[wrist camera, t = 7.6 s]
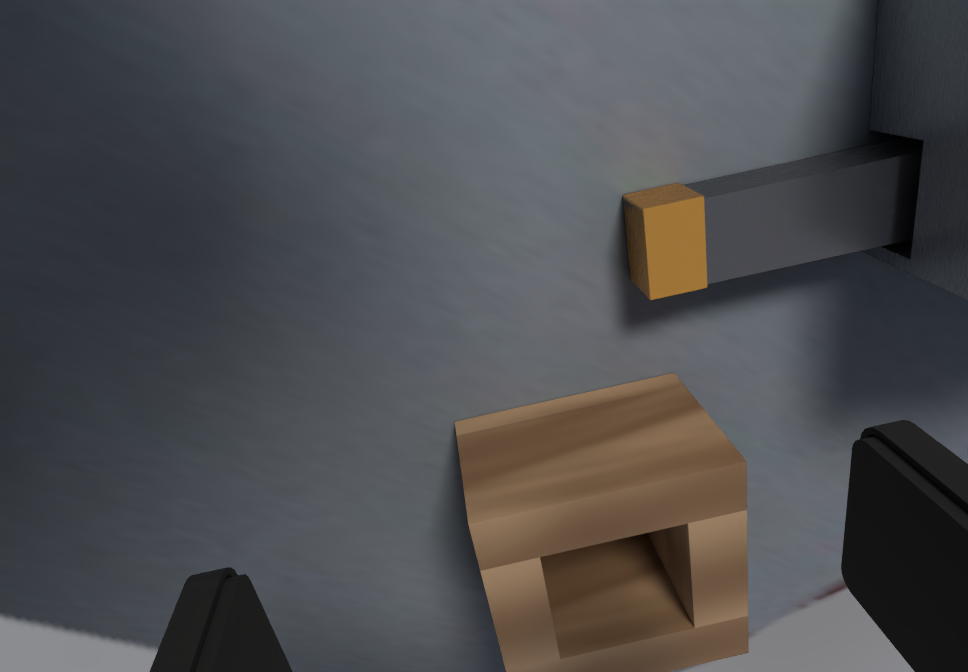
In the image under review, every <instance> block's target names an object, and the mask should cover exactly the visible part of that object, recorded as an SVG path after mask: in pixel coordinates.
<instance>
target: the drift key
mask: <svg viewBox="0 0 968 672" xmlns="http://www.w3.org/2000/svg"><path fill="white" fill-rule="evenodd" d="M923 142H924V140H919V139H914V138H909V137H904V138H899V139H895V140H890V141H885V142H881V143H876V144H871V145H867V146H862V147H858V148H853V149H848V150H844V151H839V152H834V153H830V154H825V155H820V156H816V157H811V158H806V159H802V160H797V161H793V162H788V163H783V164H779V165H774V166H769V167H765V168H760V169H755V170H751V171H746V172H742V173H737V174H732V175H728V176H723V177H718V178H714V179H709V180H704V181H700V182H695V183H691V184H686V185H682V184H680V183H675V184H671V185H666V186H661V187H657V188H652V189H648V190H643V191H638V192H634V193H629V194H624V195H623V200H624V211H625V222H626V233H627V244H628V254H629V265H630V276H631V280H632V281H633V282H634V283H635V284H636V285H637V286H638V288H639V289H640V290H641V291H642V292H643V293H644V294H645V295H646V296H647V297H648V298H649V299H650V300H654V299H658V298H663V297H667V296H672V295H676V294H681V293H686V292H690V291H695V290H699V289H704V288H707V284H711V283H716V282H720V281H725V280H729V279H734V278H739V277H743V276H748V275H752V274H757V273H761V272H766V271H770V270H775V269H780V268H784V267H789V266H793V265H798V264H802V263H807V262H811V261H816V260H821V259H825V258H830V257H834V256H839V255H843V254H848V253H853V252H857V251H862V250H866V249H871V248H875V247H880V246H884V245H889V244H894V243H898V242H903V241H907V240H912V239H913V234H914V224H915V215H916V206H917V197H918V188H919V178H920V169H921V160H922V151H923Z"/></svg>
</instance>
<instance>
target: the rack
mask: <svg viewBox="0 0 968 672" xmlns="http://www.w3.org/2000/svg"><path fill="white" fill-rule="evenodd" d="M455 428H456V436H457V443H458V451H459V458H460V466H461V473H462V481H463V488H464V496H465V503H466V511H467V518H468V525H469V529H470V533H471V537H472V541H473V545H474V548H475V552H476V556H477V560H478V564H479V568H480V572H481V576H482V580H483V584H484V587H485V591H486V595H487V599H488V603H489V607H490V611H491V615H492V619H493V623H494V626H495V630H496V634H497V638H498V642H499V646H500V650H501V654H502V658H503V662H504V665H505V669H506V672H668V671H672V670H677V669H681V668H685V667H689V666H694V665H698V664H702V663H707V662H711V661H715V660H719V659H723V658H728V657H732V656H737V655H741V654H745V653H748V564H747V466H746V460H745V459H744V458H743V457H742V455H741V454H740V453H739V452H738V450H737V449H736V448H735V447H734V446H733V444H732V443H731V442H730V441H729V439H728V438H727V437H726V436H725V434H724V433H723V432H722V431H721V430H720V428H719V427H718V426H717V425H716V423H715V422H714V421H713V420H712V418H711V417H710V416H709V415H708V414H707V412H706V411H705V410H704V409H703V407H702V406H701V405H700V404H699V403H698V401H697V400H696V399H695V398H694V396H693V395H692V394H691V393H690V391H689V390H688V389H687V388H686V387H685V385H684V384H683V383H682V382H681V380H680V379H679V378H678V377H677V375H676V374H675V373H671V374H667V375H662V376H658V377H653V378H649V379H644V380H640V381H635V382H631V383H626V384H622V385H617V386H613V387H608V388H604V389H599V390H595V391H590V392H586V393H581V394H577V395H572V396H568V397H563V398H559V399H554V400H550V401H545V402H541V403H536V404H532V405H527V406H523V407H518V408H514V409H509V410H505V411H500V412H496V413H491V414H487V415H482V416H478V417H473V418H469V419H464V420H460V421H455Z"/></svg>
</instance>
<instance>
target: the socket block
mask: <svg viewBox="0 0 968 672" xmlns="http://www.w3.org/2000/svg"><path fill="white" fill-rule="evenodd" d="M869 130H873V131H878V132H883V133H888V134H893V135H898V136H904V137H909V138H914V139H919V140H924V142H923V151H922V160H921V169H920V178H919V188H918V197H917V206H916V215H915V224H914V234H913V239H912V240H907V241H903V242H898V243H894V244H889V245H884V246H880V247H875V248H871V249H866V250H862V252H864V253H866V254H868V255H870V256H873V257H875V258H877V259H879V260H881V261H883V262H886V263H888V264H890V265H892V266H894V267H896V268H899V269H901V270H903V271H905V272H907V273H909V274H912V275H914V276H916V277H918V278H920V279H922V280H925V281H927V282H929V283H931V284H933V285H935V286H938V287H940V288H942V289H944V290H946V291H948V292H951V293H953V294H955V295H957V296H959V297H961V298H964V299H966V300H968V0H879V3H878V17H877V31H876V45H875V59H874V72H873V86H872V100H871V114H870V128H869Z"/></svg>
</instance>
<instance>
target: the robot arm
mask: <svg viewBox="0 0 968 672" xmlns="http://www.w3.org/2000/svg"><path fill="white" fill-rule="evenodd" d="M841 570H842V575H843V578H844V581H845V583H846V585H847V587H848V589H849V590H850V592H851V593H852V595H853V596H854V597H855V598H856V599H857V601H858V602H859V603H860V604H861V606H862V607H863V608H864V609H865V611H866V612H867V613H868V614H869V616H870V617H871V618H872V619H873V621H874V622H875V623H876V624H877V625H878V627H879V628H880V629H881V630H882V631H883V633H884V634H885V635H886V637H887V638H888V639H889V640H890V642H891V643H892V644H893V645H894V647H895V648H896V649H897V650H898V651H899V653H900V654H901V655H902V656H903V658H904V659H905V660H906V661H907V663H908V664H909V665H910V666H911V668H912V669H913V670H914V671H915V672H968V464H967V463H966V462H964V461H963V460H962V459H960V458H959V457H958V456H956V455H955V454H954V453H952V452H951V451H950V450H948V449H947V448H946V447H944V446H943V445H942V444H940V443H939V442H938V441H936V440H935V439H934V438H932V437H931V436H930V435H928V434H927V433H926V432H924V431H923V430H922V429H920V428H919V427H918V426H917V425H915V424H913V423H912V422H910V421H906V420H901V421H896V422H892V423H887V424H882V425H878V426H873V427H869V428H866V429H864V431H863V432H862V434H861V438H860V440H857V441H855V442H854V444H853V448H852V457H851V468H850V478H849V489H848V500H847V511H846V521H845V532H844V543H843V554H842V564H841ZM150 672H292V670H291V668H290V665H289V663H288V661H287V659H286V657H285V654H284V652H283V650H282V648H281V646H280V644H279V641H278V639H277V637H276V635H275V633H274V631H273V628H272V626H271V624H270V622H269V620H268V617H267V615H266V613H265V611H264V609H263V607H262V604H261V602H260V600H259V598H258V596H257V594H256V591H255V589H254V587H253V585H252V583H251V580H250V579H249V577H248V576H247V575H246V574H244V575H237V573H236V572H235V570H234V569H232V568H223V569H219V570H214V571H209V572H205V573H200V574H196V575H191V576H190V577H189V578H188V579H187V581H186V582H185V584H184V587H183V589H182V592H181V594H180V597H179V599H178V602H177V604H176V607H175V609H174V612H173V614H172V617H171V619H170V622H169V624H168V627H167V629H166V632H165V634H164V637H163V639H162V642H161V644H160V647H159V649H158V652H157V655H156V657H155V660H154V662H153V665H152V667H151V670H150Z"/></svg>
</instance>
